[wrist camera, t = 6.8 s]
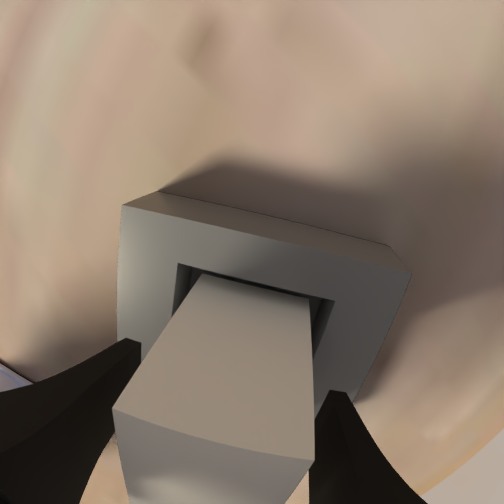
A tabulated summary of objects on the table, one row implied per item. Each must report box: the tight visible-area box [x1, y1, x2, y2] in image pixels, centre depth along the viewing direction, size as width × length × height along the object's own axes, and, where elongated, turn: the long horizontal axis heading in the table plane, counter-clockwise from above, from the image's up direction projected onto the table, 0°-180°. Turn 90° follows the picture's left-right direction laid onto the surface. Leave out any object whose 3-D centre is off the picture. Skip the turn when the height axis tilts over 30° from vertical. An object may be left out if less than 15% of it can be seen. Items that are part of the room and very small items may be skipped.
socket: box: [117, 191, 412, 420], centre depth 13 cm, size 10×10×3 cm
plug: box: [112, 274, 315, 504], centre depth 10 cm, size 4×6×8 cm
